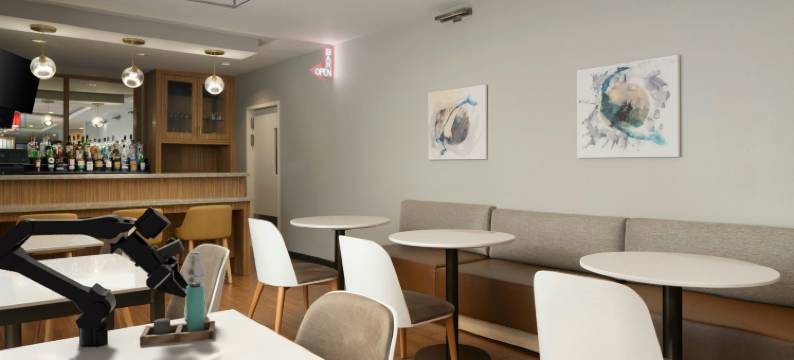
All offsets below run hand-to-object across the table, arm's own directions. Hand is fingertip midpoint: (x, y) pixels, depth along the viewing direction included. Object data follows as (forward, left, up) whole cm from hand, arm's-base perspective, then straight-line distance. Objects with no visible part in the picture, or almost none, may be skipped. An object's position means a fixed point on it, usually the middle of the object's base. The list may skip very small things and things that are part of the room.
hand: (187, 292), depth 148 cm
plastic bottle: (-10, +13, -13) cm, 21 cm away
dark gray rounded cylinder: (-5, -4, -12) cm, 13 cm away
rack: (-2, -1, -13) cm, 13 cm away
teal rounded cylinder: (+2, +1, -12) cm, 12 cm away
